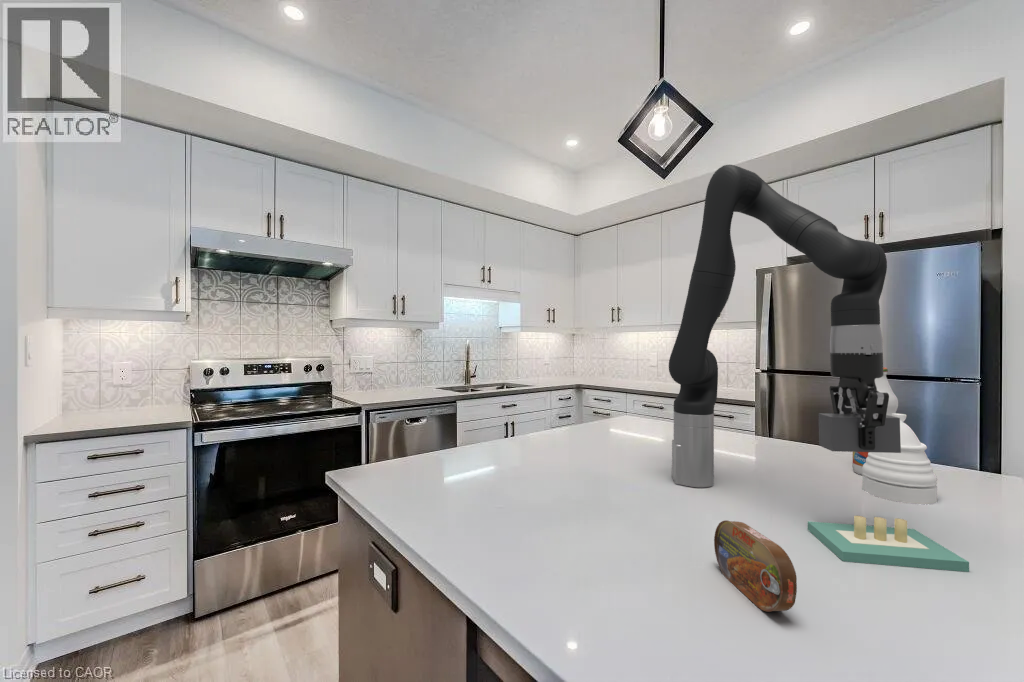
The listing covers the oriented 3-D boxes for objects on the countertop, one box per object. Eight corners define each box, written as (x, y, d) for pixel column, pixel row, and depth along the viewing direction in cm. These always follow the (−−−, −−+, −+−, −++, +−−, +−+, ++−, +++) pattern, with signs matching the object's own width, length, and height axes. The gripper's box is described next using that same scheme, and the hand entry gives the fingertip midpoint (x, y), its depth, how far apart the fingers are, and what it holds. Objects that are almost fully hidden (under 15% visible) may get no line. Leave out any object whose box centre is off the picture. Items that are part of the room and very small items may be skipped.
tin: (712, 565, 69) (712, 511, 69) (731, 564, 69) (731, 510, 69) (778, 627, 54) (778, 558, 54) (802, 626, 54) (802, 557, 54)
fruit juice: (898, 473, 117) (898, 367, 117) (900, 482, 109) (900, 368, 109) (852, 467, 123) (853, 365, 123) (851, 475, 115) (852, 367, 115)
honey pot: (866, 481, 110) (866, 409, 110) (938, 494, 101) (938, 415, 101) (857, 494, 101) (858, 415, 101) (935, 509, 92) (936, 422, 92)
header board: (842, 561, 70) (842, 529, 70) (807, 529, 82) (807, 502, 82) (969, 571, 67) (969, 538, 67) (913, 537, 79) (913, 509, 79)
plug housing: (832, 451, 78) (831, 417, 78) (819, 445, 83) (818, 413, 83) (900, 452, 76) (899, 418, 77) (883, 446, 81) (882, 413, 81)
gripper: (813, 350, 88) (815, 437, 87) (855, 351, 74) (858, 455, 73) (855, 350, 86) (858, 438, 86) (907, 350, 72) (910, 456, 72)
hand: (858, 445), depth 80 cm, fingers closed on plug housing, 4 cm apart
